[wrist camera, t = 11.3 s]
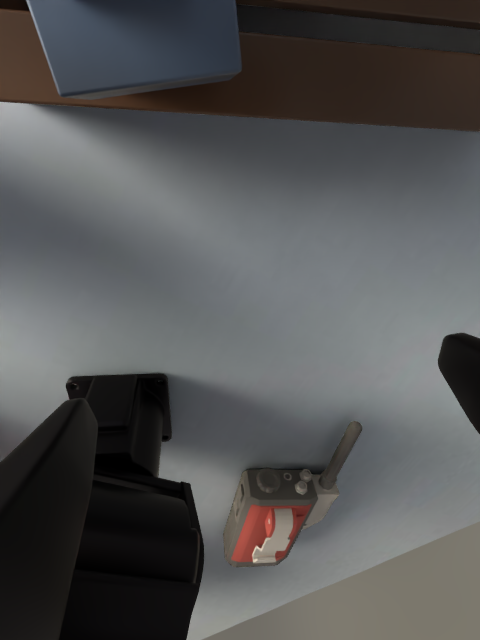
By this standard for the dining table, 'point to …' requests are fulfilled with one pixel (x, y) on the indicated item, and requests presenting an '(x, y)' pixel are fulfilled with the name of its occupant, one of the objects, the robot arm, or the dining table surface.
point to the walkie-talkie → (280, 508)
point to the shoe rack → (293, 72)
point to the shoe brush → (136, 44)
